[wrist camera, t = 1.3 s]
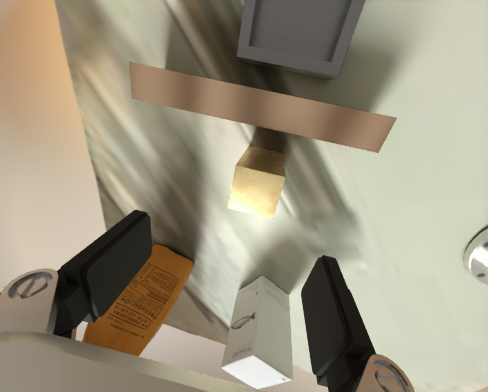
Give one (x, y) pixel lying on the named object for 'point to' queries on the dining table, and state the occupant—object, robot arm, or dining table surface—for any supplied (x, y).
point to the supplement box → (260, 336)
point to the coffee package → (142, 304)
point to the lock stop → (258, 182)
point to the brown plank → (260, 107)
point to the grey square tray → (298, 34)
